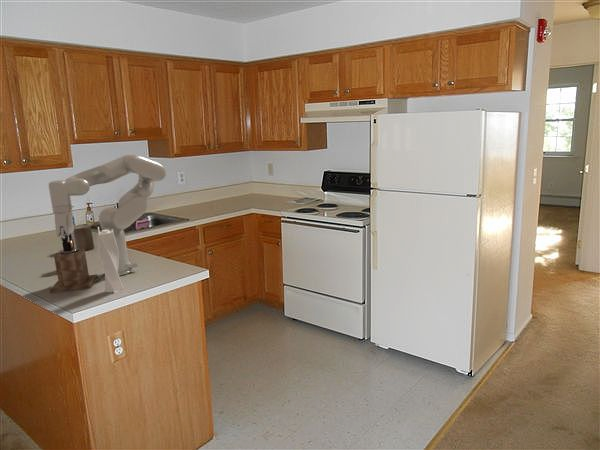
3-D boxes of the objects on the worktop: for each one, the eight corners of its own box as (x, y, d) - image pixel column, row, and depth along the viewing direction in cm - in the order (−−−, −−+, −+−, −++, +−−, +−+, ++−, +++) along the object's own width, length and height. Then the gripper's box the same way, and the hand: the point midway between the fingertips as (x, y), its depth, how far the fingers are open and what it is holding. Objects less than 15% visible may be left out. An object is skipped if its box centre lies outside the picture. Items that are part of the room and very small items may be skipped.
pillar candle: (97, 248, 269) (93, 223, 266) (81, 252, 261) (77, 226, 258) (88, 246, 275) (84, 222, 272) (73, 250, 267) (68, 225, 264)
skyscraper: (100, 292, 194) (90, 228, 188) (112, 286, 201) (103, 224, 195) (114, 294, 192) (105, 229, 185) (127, 287, 198) (118, 224, 192)
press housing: (97, 277, 215) (92, 245, 211) (90, 288, 200) (84, 254, 197) (60, 281, 212) (55, 249, 208) (50, 292, 197) (44, 258, 194)
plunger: (84, 276, 210) (78, 238, 206) (80, 281, 203) (74, 242, 199) (68, 278, 208) (61, 240, 204) (63, 283, 202) (56, 243, 198)
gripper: (58, 206, 206) (65, 246, 210) (46, 213, 190) (54, 255, 194) (76, 205, 207) (82, 244, 211) (66, 211, 191) (73, 253, 195)
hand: (69, 249), depth 203 cm, fingers closed on plunger, 3 cm apart
